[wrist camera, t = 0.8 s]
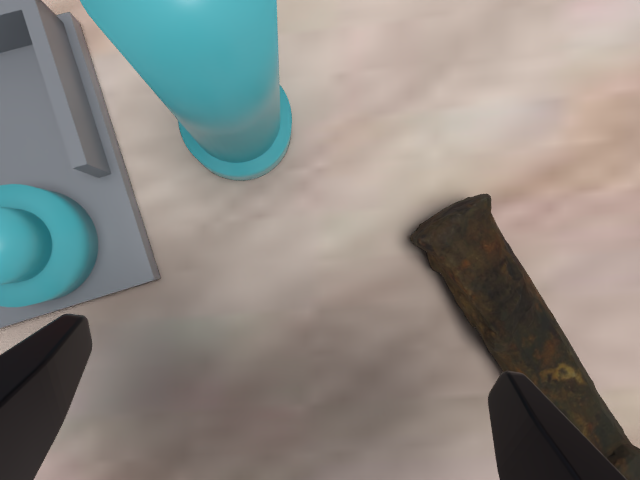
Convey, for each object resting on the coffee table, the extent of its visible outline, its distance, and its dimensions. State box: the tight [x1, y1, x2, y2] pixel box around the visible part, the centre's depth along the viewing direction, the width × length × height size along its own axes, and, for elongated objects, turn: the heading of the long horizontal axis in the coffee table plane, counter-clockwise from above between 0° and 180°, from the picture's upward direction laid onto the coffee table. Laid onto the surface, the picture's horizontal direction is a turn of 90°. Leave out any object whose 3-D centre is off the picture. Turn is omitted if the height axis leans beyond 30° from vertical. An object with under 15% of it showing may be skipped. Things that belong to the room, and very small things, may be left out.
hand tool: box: [410, 194, 640, 480], centre depth 21 cm, size 19×4×5 cm, turn 30°
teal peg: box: [80, 0, 292, 180], centre depth 15 cm, size 5×5×13 cm
